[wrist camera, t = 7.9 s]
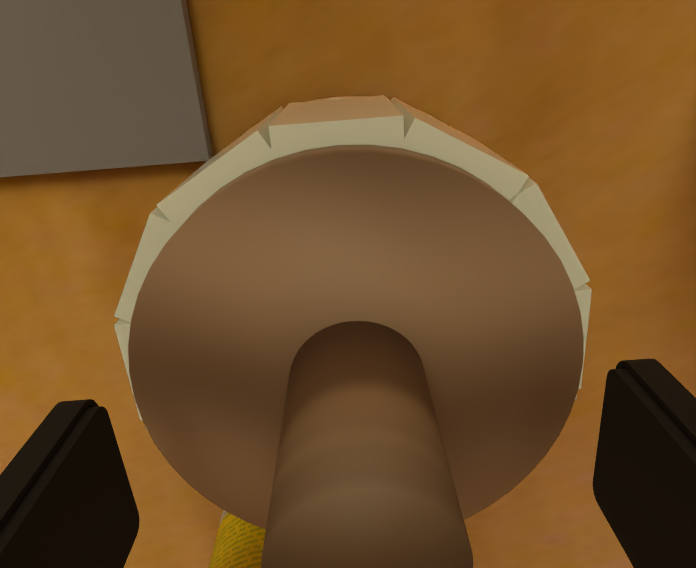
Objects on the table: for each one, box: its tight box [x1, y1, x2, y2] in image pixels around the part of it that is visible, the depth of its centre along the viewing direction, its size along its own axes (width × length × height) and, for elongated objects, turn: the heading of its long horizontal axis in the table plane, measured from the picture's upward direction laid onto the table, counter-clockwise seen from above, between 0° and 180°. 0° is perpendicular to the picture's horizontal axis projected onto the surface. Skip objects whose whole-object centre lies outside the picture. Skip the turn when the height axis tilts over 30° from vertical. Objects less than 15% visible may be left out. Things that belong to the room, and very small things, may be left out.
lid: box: [128, 144, 584, 568], centre depth 10 cm, size 10×10×6 cm
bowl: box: [114, 95, 592, 430], centre depth 16 cm, size 11×11×6 cm
